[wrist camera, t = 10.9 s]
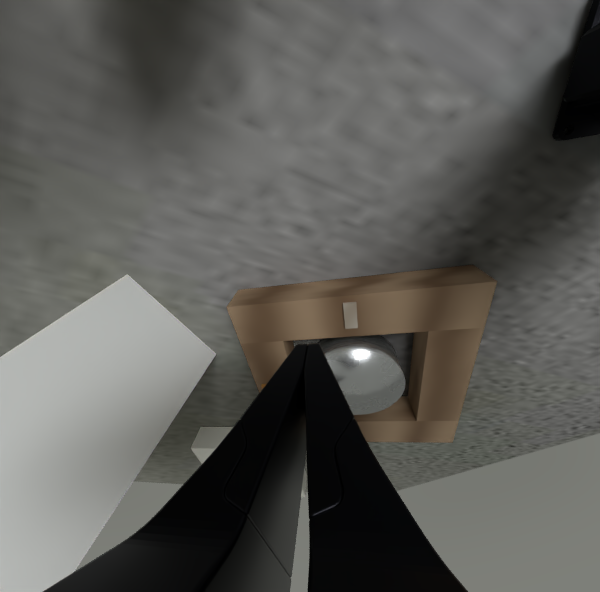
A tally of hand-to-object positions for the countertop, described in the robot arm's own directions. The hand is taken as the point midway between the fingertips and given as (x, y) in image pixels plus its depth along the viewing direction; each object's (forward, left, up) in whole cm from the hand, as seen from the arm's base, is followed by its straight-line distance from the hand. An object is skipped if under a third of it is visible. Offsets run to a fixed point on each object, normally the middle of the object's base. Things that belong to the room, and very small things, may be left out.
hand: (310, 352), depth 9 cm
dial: (0, +13, -12) cm, 18 cm away
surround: (-2, +13, -12) cm, 18 cm away
